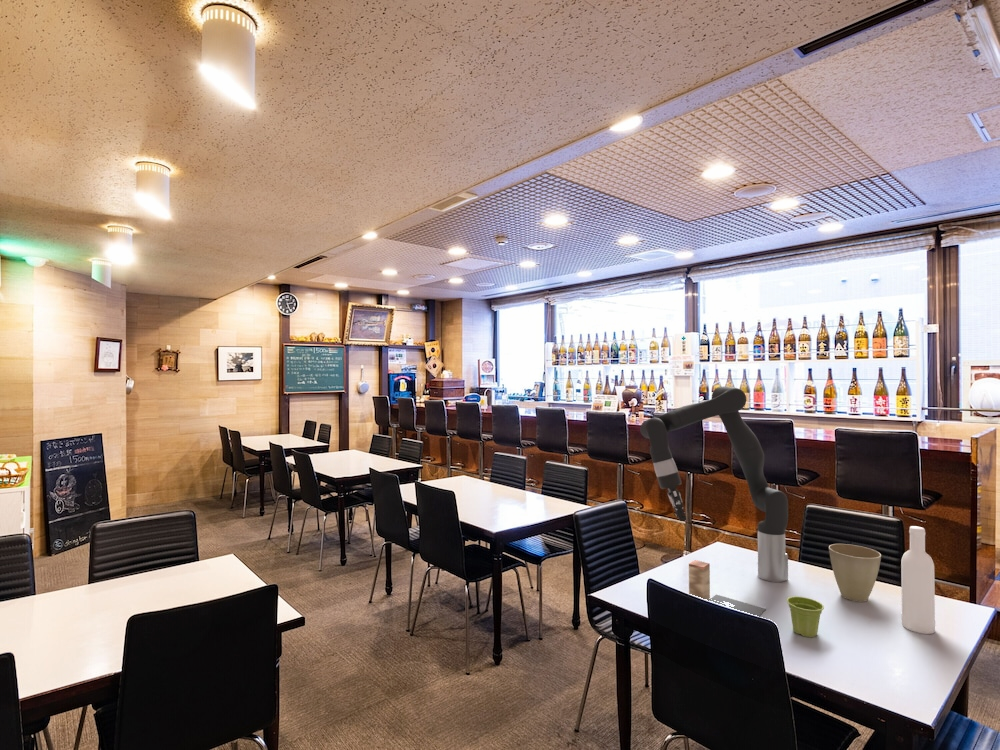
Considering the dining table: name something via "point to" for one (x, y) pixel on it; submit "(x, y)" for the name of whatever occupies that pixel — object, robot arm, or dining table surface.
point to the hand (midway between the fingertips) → (681, 518)
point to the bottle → (918, 585)
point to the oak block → (699, 579)
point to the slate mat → (739, 605)
